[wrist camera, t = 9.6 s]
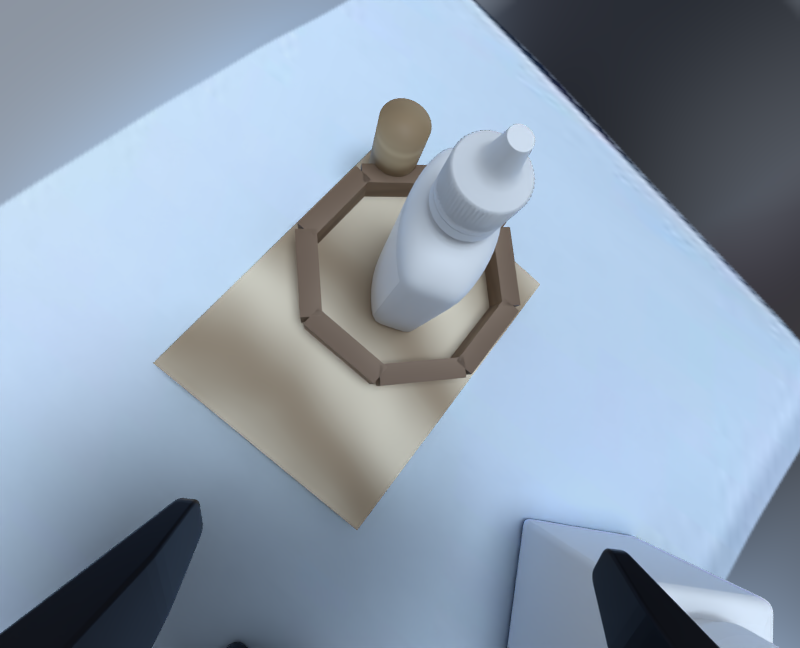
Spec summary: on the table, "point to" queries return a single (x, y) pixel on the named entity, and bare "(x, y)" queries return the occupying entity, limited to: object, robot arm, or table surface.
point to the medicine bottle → (576, 601)
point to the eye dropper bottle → (451, 226)
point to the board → (343, 336)
